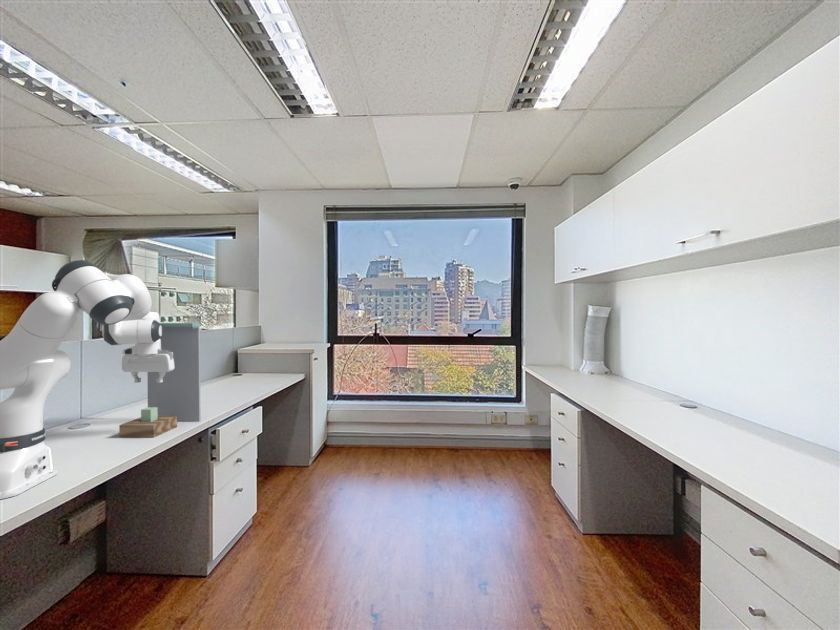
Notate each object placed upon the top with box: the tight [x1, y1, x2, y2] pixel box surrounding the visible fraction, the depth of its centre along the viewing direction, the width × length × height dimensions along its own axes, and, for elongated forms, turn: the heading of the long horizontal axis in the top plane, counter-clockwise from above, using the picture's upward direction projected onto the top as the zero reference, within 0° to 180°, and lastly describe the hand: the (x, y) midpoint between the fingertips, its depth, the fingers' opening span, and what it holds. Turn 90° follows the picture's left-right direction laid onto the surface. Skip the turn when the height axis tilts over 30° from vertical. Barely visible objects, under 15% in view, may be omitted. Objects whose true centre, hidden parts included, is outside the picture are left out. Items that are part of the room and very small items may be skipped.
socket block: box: [118, 416, 178, 439], centre depth 158 cm, size 14×14×5 cm
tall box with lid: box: [146, 322, 202, 423], centre depth 171 cm, size 6×24×46 cm, turn 89°
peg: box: [140, 406, 158, 422], centre depth 158 cm, size 4×4×10 cm
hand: (148, 382), depth 158 cm, fingers open, 8 cm apart
